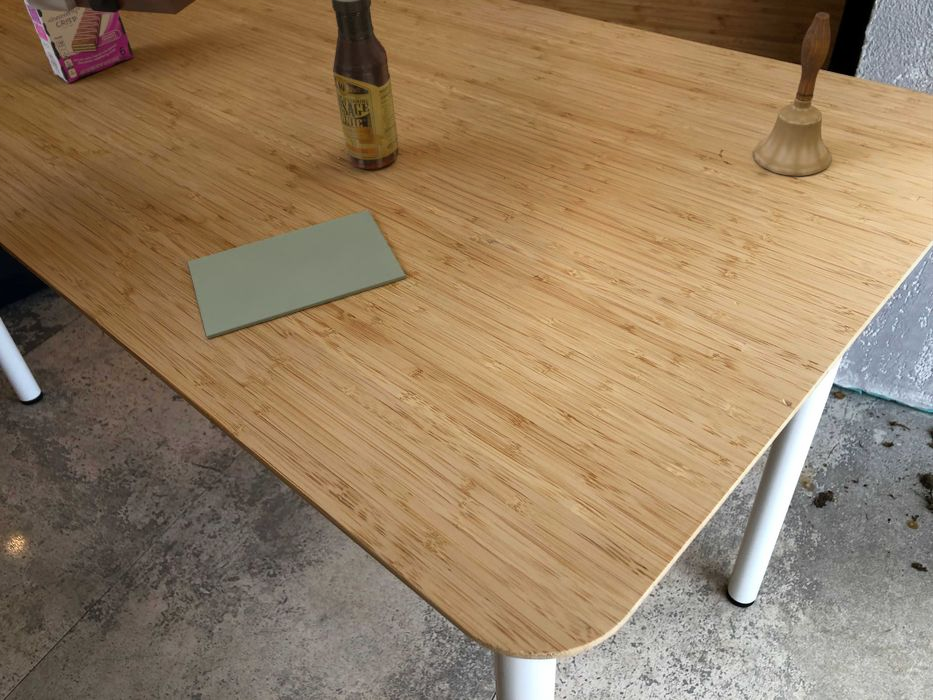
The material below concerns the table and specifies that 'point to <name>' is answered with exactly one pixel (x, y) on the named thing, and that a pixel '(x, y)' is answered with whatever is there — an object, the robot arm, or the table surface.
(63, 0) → the dark brown bar
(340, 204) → the table surface
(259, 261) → the mat
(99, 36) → the candy bar box
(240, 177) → the table surface
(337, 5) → the sauce bottle
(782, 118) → the hand bell
